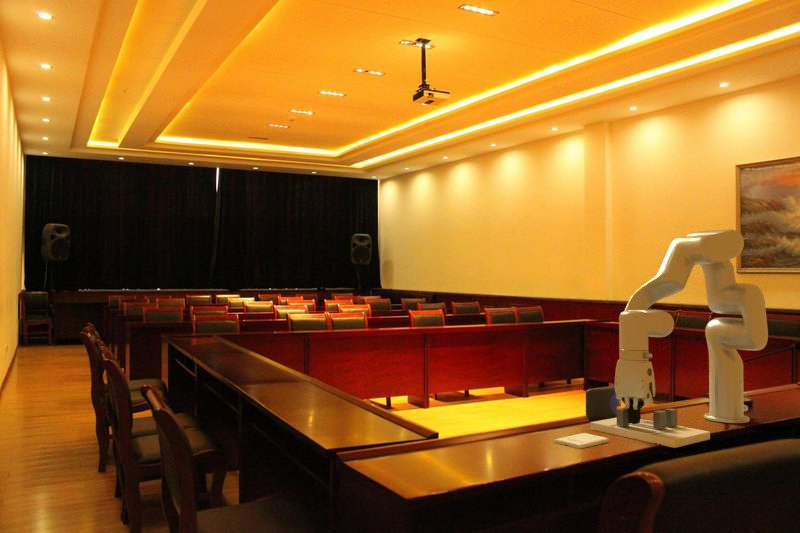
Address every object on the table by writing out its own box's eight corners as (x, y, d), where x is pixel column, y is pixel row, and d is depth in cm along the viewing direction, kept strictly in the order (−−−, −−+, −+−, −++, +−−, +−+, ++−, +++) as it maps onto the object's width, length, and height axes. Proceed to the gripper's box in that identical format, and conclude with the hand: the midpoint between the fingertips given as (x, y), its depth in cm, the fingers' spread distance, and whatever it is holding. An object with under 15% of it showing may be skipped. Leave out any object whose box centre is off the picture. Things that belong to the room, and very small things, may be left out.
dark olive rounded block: (596, 421, 196) (596, 390, 197) (584, 419, 200) (584, 388, 200) (629, 416, 206) (629, 386, 206) (616, 413, 210) (616, 384, 210)
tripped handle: (623, 424, 182) (623, 405, 182) (629, 425, 180) (629, 406, 181) (616, 425, 180) (616, 406, 180) (622, 426, 179) (622, 408, 179)
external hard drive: (608, 444, 170) (579, 451, 163) (582, 438, 177) (553, 444, 169) (608, 438, 170) (579, 444, 163) (582, 432, 177) (553, 438, 169)
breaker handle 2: (670, 424, 182) (670, 408, 182) (677, 425, 181) (677, 409, 181) (664, 425, 180) (664, 409, 181) (671, 426, 179) (671, 410, 179)
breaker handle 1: (659, 426, 179) (659, 410, 179) (666, 428, 177) (666, 411, 178) (653, 428, 177) (653, 411, 177) (660, 429, 176) (659, 412, 176)
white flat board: (626, 422, 196) (626, 415, 196) (710, 439, 175) (710, 431, 175) (590, 429, 186) (590, 422, 186) (674, 447, 165) (674, 439, 165)
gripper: (666, 357, 175) (666, 426, 174) (618, 352, 186) (618, 417, 186) (650, 359, 170) (651, 429, 169) (602, 354, 182) (602, 420, 181)
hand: (634, 422), depth 178 cm, fingers closed
